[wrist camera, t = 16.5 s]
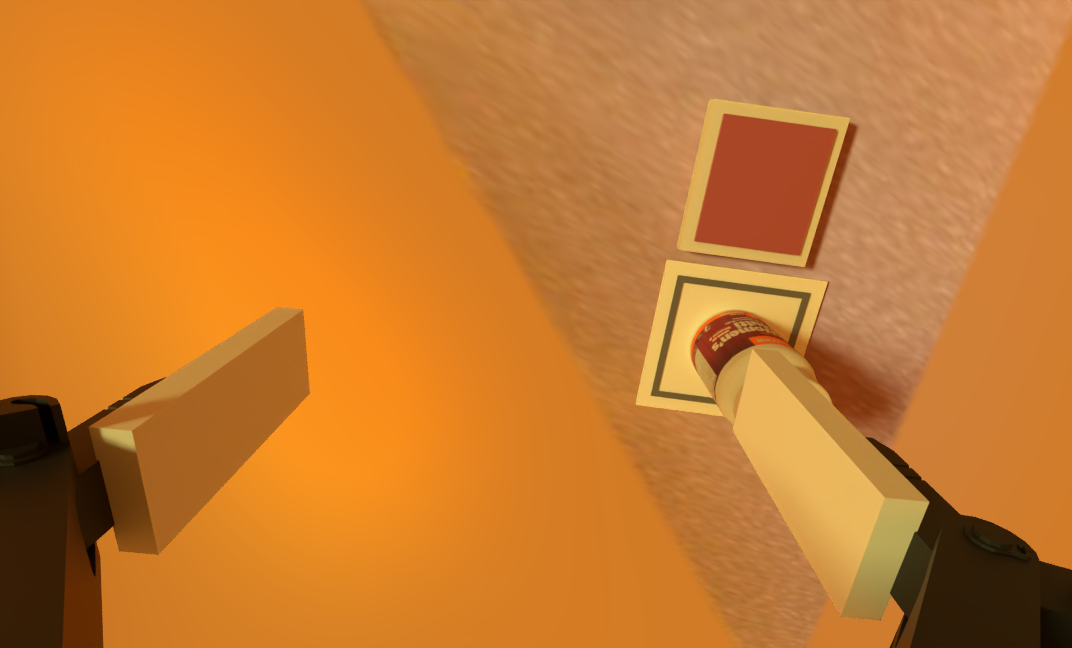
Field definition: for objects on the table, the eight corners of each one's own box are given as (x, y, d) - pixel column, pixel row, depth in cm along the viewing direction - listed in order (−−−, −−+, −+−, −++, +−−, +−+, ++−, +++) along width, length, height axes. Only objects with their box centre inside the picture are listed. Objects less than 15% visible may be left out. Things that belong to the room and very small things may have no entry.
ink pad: (708, 100, 36) (715, 98, 34) (840, 118, 36) (852, 118, 34) (676, 246, 39) (681, 250, 37) (797, 263, 39) (806, 268, 37)
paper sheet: (666, 259, 39) (667, 260, 39) (826, 281, 39) (828, 282, 39) (635, 403, 43) (636, 405, 43) (780, 422, 43) (782, 424, 43)
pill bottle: (756, 295, 40) (832, 352, 29) (777, 366, 41) (855, 444, 31) (677, 324, 41) (721, 389, 30) (700, 392, 42) (750, 477, 32)
